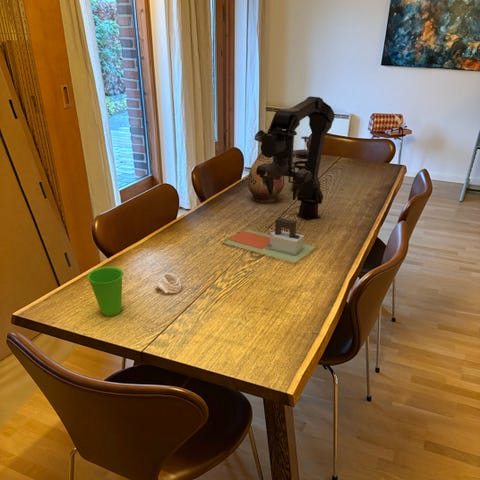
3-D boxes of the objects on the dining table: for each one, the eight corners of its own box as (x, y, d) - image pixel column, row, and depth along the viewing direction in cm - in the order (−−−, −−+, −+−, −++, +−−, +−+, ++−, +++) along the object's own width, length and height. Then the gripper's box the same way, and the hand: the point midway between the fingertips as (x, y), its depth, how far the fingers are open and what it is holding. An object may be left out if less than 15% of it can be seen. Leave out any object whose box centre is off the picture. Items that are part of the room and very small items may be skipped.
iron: (303, 249, 158) (305, 220, 153) (295, 256, 154) (297, 226, 148) (274, 242, 163) (275, 214, 158) (265, 249, 158) (266, 220, 153)
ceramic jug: (258, 207, 194) (260, 130, 178) (241, 197, 205) (241, 123, 189) (293, 201, 201) (298, 126, 184) (274, 191, 212) (277, 120, 196)
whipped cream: (168, 283, 141) (166, 268, 139) (187, 286, 138) (185, 270, 136) (152, 293, 134) (150, 277, 132) (172, 297, 132) (170, 280, 129)
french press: (316, 188, 216) (321, 135, 203) (310, 194, 208) (314, 140, 196) (292, 185, 220) (295, 133, 207) (285, 191, 212) (288, 137, 200)
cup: (97, 303, 129) (90, 267, 123) (130, 301, 130) (125, 265, 124) (91, 321, 122) (83, 283, 116) (126, 319, 122) (121, 282, 116)
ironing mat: (223, 243, 163) (223, 241, 163) (247, 230, 174) (247, 228, 173) (294, 264, 150) (294, 262, 150) (316, 248, 160) (316, 246, 160)
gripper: (247, 152, 154) (247, 199, 163) (298, 160, 146) (295, 209, 154) (265, 145, 162) (263, 190, 171) (314, 153, 154) (310, 200, 162)
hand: (282, 197), depth 164 cm, fingers open, 9 cm apart
